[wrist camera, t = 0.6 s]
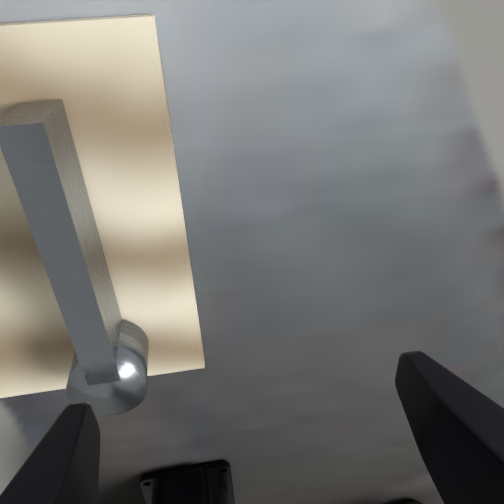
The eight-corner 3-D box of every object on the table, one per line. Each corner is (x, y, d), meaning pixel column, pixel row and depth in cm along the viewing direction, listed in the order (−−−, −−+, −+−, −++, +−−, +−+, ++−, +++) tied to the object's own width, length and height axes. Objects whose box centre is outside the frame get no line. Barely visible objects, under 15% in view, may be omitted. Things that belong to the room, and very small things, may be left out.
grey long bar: (154, 363, 24) (152, 408, 22) (87, 373, 24) (77, 420, 21) (91, 96, 16) (77, 119, 14) (-10, 105, 16) (-43, 129, 14)
